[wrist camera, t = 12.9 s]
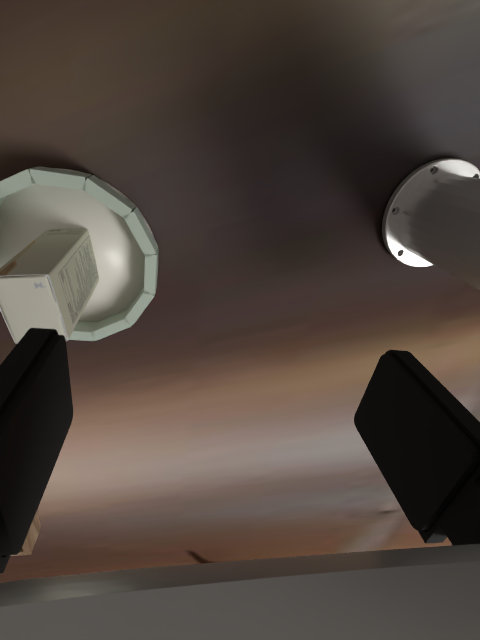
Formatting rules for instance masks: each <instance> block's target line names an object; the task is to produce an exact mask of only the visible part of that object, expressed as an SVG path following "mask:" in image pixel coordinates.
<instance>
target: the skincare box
mask: <svg viewBox="0 0 480 640" xmlns="http://www.w3.org/2000/svg"><path fill="white" fill-rule="evenodd" d="M98 282H99V275H98V270H97V265H96V260H95V256H94V251H93V247H92V243H91V239H90V235H89V231H88V230H87V229H54V230H46V231H45V232H44V233H42V234H41V235H40V236H39V237H37V238H36V239H35V240H34V241H33V242H31V243H30V244H29V245H28V246H27V247H25V248H24V249H23V250H22V251H20V252H19V253H18V254H17V255H15V256H14V257H13V258H12V259H11V260H9V261H8V262H7V263H6V264H4V265H3V266H2V267H1V268H0V310H1V313H2V315H3V317H4V320H5V322H6V324H7V327H8V329H9V331H10V333H11V335H12V337H13V340H14V342H15V343H18V342H19V341H20V340H21V339H22V337H23V336H24V335H25V334H26V332H27V331H28V330H29V329H30V328H45V329H56V330H57V332H58V335H64V336H65V340H66V341H68V339H69V338H70V336H71V334H72V332H73V330H74V328H75V326H76V324H77V322H78V320H79V318H80V316H81V315H82V313H83V311H84V309H85V307H86V305H87V303H88V301H89V299H90V297H91V295H92V294H93V292H94V290H95V288H96V286H97V284H98Z"/></svg>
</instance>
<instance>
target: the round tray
mask: <svg viewBox="0 0 480 640" xmlns="http://www.w3.org/2000/svg"><path fill="white" fill-rule="evenodd" d="M54 229H87V230H88V231H89V235H90V239H91V243H92V247H93V251H94V256H95V260H96V265H97V270H98V275H99V282H98V284H97V286H96V288H95V290H94V292H93V294H92V295H91V297H90V299H89V301H88V303H87V305H86V307H85V309H84V311H83V313H82V315H81V316H80V318H79V320H78V322H77V324H76V326H75V328H74V330H73V332H72V334H71V336H70V338H69V339H68V340H85V341H94V340H96V341H97V340H99V339H102V338H104V337H106V336H109V335H111V334H114V333H116V332H119V331H121V330H124V329H126V328H129V327H131V326H132V325H133V324H134V323H135V322H136V320H137V319H138V318H139V316H140V315H141V314H142V312H143V311H144V310H145V308H146V307H147V306H148V304H149V303H150V302H151V300H152V299H153V298H154V296H155V292H156V287H157V271H158V245H157V243H156V242H155V239H154V235H153V233H152V231H151V229H150V226H149V224H148V223H147V221H146V219H145V218H144V216H143V215H142V213H141V212H140V211H139V209H138V207H136V206H135V204H134V203H132V202H131V200H130V199H129V198H128V197H126V196H125V195H124V194H123V193H122V192H120V191H119V190H118V189H116V188H115V187H113V186H112V185H110V184H109V183H107V182H105V181H103V180H101V179H99V178H97V177H96V176H94V175H93V176H92V175H91V174H88V173H84V172H80V171H75V170H71V169H61V168H48V167H41V166H39V167H34V168H30V169H26V170H24V171H22V172H20V173H18V174H15V175H13V176H11V177H9V178H6V179H4V180H2V181H0V268H1V267H2V266H3V265H4V264H6V263H7V262H8V261H9V260H11V259H12V258H13V257H14V256H15V255H17V254H18V253H19V252H20V251H22V250H23V249H24V248H25V247H27V246H28V245H29V244H30V243H31V242H33V241H34V240H35V239H36V238H37V237H39V236H40V235H41V234H42V233H44V232H45V231H46V230H54ZM0 311H1V310H0Z"/></svg>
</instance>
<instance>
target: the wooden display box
mask: <svg viewBox="0 0 480 640" xmlns="http://www.w3.org/2000/svg"><path fill="white" fill-rule="evenodd" d="M40 529H41V525H40V521H39V516H38V511H36V514H35V516H34V519H33V521H32V524H31V526H30V529H29V531H28V534H27V536H26V539H25V542H24V544H23V546H22V549H21V550H20V552H19V553H18V554H17V555H31V553H32V550H33V548H34V545H35V542H36V539H37V537H38V534H39V531H40ZM17 555H10V556H17Z"/></svg>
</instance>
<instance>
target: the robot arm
mask: <svg viewBox="0 0 480 640" xmlns="http://www.w3.org/2000/svg"><path fill="white" fill-rule="evenodd" d="M392 210H393V211H392ZM382 236H383V241H384V244H385V246H386V248H387V250H388V251H389V253H390V254H391V255H392V256H393V257H394V258H395V259H397V260H398V261H400V262H402V263H403V264H406V265H409V266H414V267H425V266H430V265H435V266H436V267H438V268H440V269H442V270H444V271H446V272H447V273H449V274H451V275H453V276H455V277H456V278H458V279H460V280H462V281H464V282H466V283H467V284H469V285H471V286H473V287H475V288H477V289H478V290H480V171H479V169H478V168H477V167H476V166H474V165H473V164H471V163H470V162H467V161H464V160H462V159H454V158H444V159H438V160H434V161H431V162H429V163H426V164H424V165H422V166H420V167H419V168H417V169H416V170H414V171H413V172H412V173H410V174H409V175H408V176H407V177H406V178H405V179H404V180H403V181H402V182H401V183H400V185H399V186H398V187H397V188H396V190H395V191H394V193H393V194H392V196H391V198H390V200H389V202H388V204H387V206H386V209H385V212H384V216H383V221H382ZM72 418H73V405H72V395H71V386H70V377H69V367H68V358H67V348H66V340H65V336H64V335H58V332H57V330H56V329H45V328H30V329H29V330H28V331H27V332H26V334H25V335H24V336H23V337H22V339H21V340H20V341H19V342H18V344H17V345H16V346H15V347H14V349H13V350H12V351H11V352H10V354H9V355H8V356H7V357H6V359H5V360H4V361H3V363H2V364H1V365H0V573H3V572H4V570H5V567H6V565H7V562H8V560H9V558H10V555H17V554H18V553H19V552H20V550H21V549H22V546H23V544H24V542H25V539H26V536H27V534H28V531H29V529H30V526H31V524H32V521H33V519H34V516H35V514H36V511H37V509H38V506H39V504H40V501H41V499H42V496H43V493H44V491H45V488H46V486H47V483H48V481H49V478H50V476H51V473H52V471H53V468H54V466H55V463H56V461H57V458H58V456H59V453H60V450H61V448H62V445H63V443H64V440H65V438H66V435H67V433H68V430H69V428H70V425H71V422H72ZM354 423H355V426H356V428H357V430H358V432H359V434H360V435H361V437H362V439H363V441H364V442H365V444H366V446H367V448H368V450H369V451H370V453H371V455H372V457H373V458H374V460H375V462H376V464H377V465H378V467H379V469H380V471H381V472H382V474H383V476H384V478H385V480H386V481H387V483H388V485H389V487H390V488H391V490H392V492H393V494H394V495H395V497H396V499H397V501H398V502H399V504H400V506H401V508H402V510H403V511H404V513H405V515H406V517H407V518H408V520H409V522H410V524H411V525H412V526H413V528H415V529H416V530H418V532H419V533H420V535H421V537H422V538H423V540H424V542H425V543H439V542H443V541H444V540H445V539H446V538H447V537H448V538H449V540H450V542H451V543H452V545H451V546H440V547H424V548H409V549H394V550H380V551H366V552H352V553H338V554H324V555H310V556H296V557H283V558H269V559H255V560H242V561H230V562H217V563H204V564H191V565H178V566H166V567H153V568H140V569H127V570H116V571H106V572H96V573H85V574H75V575H64V576H54V577H44V578H33V579H26V580H19V581H12V582H5V583H0V640H480V422H479V421H478V420H477V419H476V418H475V417H474V416H473V415H472V414H471V413H470V412H469V411H468V410H467V409H466V408H465V407H464V406H463V405H462V404H461V403H460V402H459V401H458V400H457V399H456V398H455V397H454V396H453V395H452V394H451V393H450V392H449V391H448V390H447V389H446V388H445V387H444V386H443V385H442V384H441V383H440V382H439V381H438V380H437V379H436V378H435V377H434V376H433V375H432V374H431V373H430V372H429V371H428V370H427V369H426V368H425V367H424V366H423V365H422V364H421V363H420V362H419V361H418V360H417V359H416V358H415V357H414V356H413V355H412V354H411V353H410V352H408V351H399V350H389V351H387V352H386V353H385V354H384V355H382V356H381V357H380V359H379V362H378V364H377V366H376V368H375V371H374V373H373V375H372V377H371V380H370V382H369V384H368V386H367V389H366V391H365V393H364V395H363V398H362V400H361V402H360V404H359V407H358V409H357V411H356V413H355V416H354Z"/></svg>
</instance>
